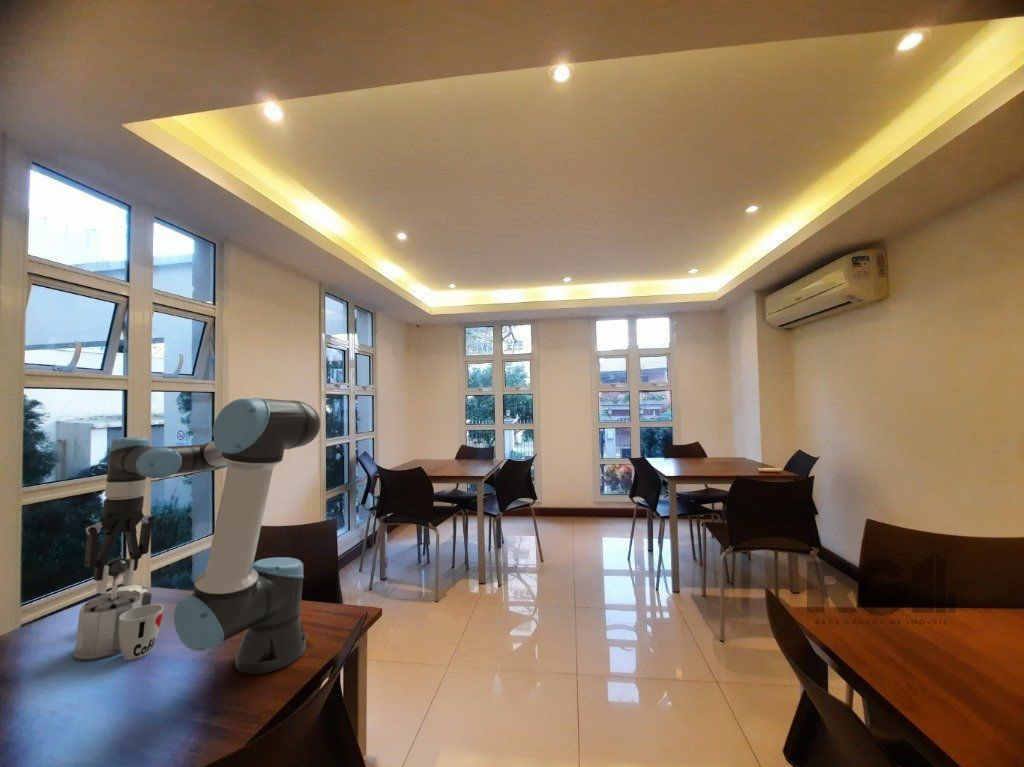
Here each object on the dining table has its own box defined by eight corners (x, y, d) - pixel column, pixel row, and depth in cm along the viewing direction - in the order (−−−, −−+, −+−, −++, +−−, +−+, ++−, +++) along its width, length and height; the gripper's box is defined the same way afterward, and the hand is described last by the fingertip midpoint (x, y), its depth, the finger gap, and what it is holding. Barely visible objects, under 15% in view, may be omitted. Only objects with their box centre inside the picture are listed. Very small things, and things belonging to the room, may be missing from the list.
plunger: (139, 634, 102) (147, 555, 104) (94, 652, 94) (104, 566, 96) (121, 627, 106) (129, 550, 107) (76, 643, 98) (86, 560, 99)
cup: (131, 666, 93) (136, 622, 93) (105, 661, 94) (110, 617, 95) (167, 646, 101) (171, 606, 101) (143, 642, 102) (147, 602, 103)
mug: (150, 618, 114) (154, 586, 115) (109, 633, 105) (113, 599, 106) (136, 612, 117) (139, 581, 117) (94, 627, 108) (98, 593, 109)
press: (157, 637, 104) (162, 591, 105) (87, 666, 92) (93, 614, 93) (132, 626, 109) (137, 582, 110) (62, 653, 96) (68, 603, 97)
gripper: (156, 489, 112) (147, 573, 110) (70, 501, 96) (58, 599, 94) (172, 492, 110) (163, 578, 108) (86, 504, 93) (74, 606, 92)
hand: (114, 588), depth 101 cm, fingers closed on plunger, 4 cm apart
